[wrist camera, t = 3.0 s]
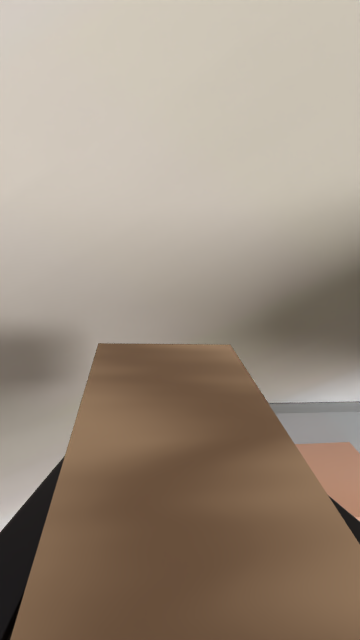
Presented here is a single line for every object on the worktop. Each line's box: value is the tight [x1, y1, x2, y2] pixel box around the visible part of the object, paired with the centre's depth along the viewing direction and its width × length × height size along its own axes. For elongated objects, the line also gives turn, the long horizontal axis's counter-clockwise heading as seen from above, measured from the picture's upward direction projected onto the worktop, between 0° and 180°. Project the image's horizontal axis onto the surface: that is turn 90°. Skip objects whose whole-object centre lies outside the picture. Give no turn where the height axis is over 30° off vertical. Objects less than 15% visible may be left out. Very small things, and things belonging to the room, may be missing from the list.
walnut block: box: [10, 343, 360, 640], centre depth 7 cm, size 4×4×9 cm
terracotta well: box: [269, 402, 360, 521], centre depth 19 cm, size 14×14×6 cm
